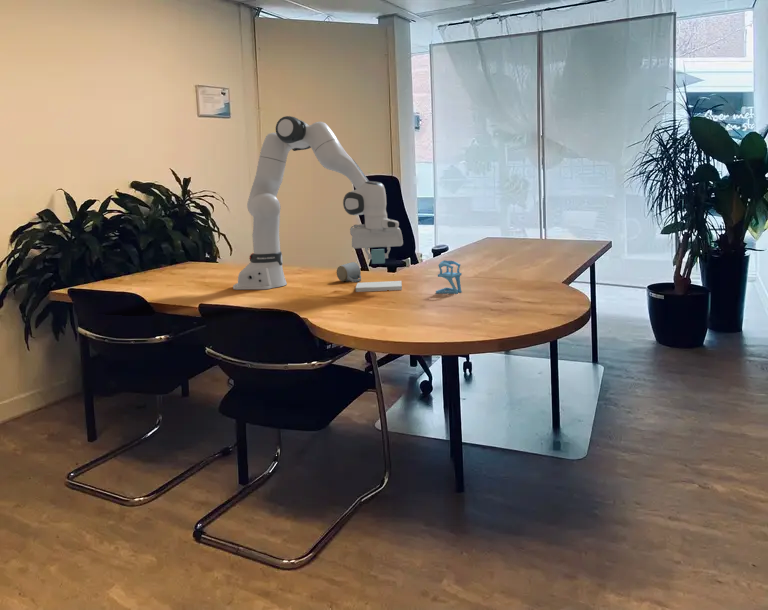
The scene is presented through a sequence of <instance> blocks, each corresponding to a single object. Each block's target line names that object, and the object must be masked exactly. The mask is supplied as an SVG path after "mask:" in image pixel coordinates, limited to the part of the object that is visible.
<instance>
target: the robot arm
mask: <svg viewBox="0 0 768 610" xmlns="http://www.w3.org/2000/svg"><path fill="white" fill-rule="evenodd" d="M261 145H262V146H261V149H260V152H259V153H260V154H259V158H258V162H257V166H256V167H257V168H256V172H255V175H254V179H253V182H252V186H251V189H250V192H249V197H248V200H247V205H246V208H247V210H248V213H249V214H250V215H251V216H252V217H253V218H252V219H253V223H252V224H253V226H252V227H253V229H252V235H251V236H252V243H253V252H252V253H250V255H249V261H250V263H248V264H247V265H246V266H245V267H244V268H243V269H242V270H240V271H239V273H238V276H237V283H234V284H233V286H232V288H233V290H269V289H273V288H275V289H276V288H279V287H280V288H281V287H283V286H286V285H287V284H288V283H287V280H286V277H285V273H284V269H283V268H284V267H283V263H284V262H283V254H282V253H283V252H282V251H281V243H280V242H281V241H280V240H281V239H280V222H281V221H280V220H281V210H282V209H281V202H280V201H279V199H278V198H277V196H278V193H279V190H280V187H281V185H282V183H283V180H284V175H285V169H286V165H287V159H288V154H289V153H290V151H293V152H296V151H303V150H304V151H305V150H308V149H311V150H312V152H313V153H314V156H315V158H316V159H317V161H318V162H319V164H320V165H321V166H322V167H324V169H326V170H329V171H332V172H336V173H339V174H340V175H341V174H342V175H343V176H344V177H346V178H348V179H349V181H350V183H351V184H352V186H353V187H354V188H355V189H354V190H351V191H349V192H347V193H346V194H345V195H344V197H343V200H342V206H343V209H344V211H345V212H346V213H347V214H348V215H349V216H362V215H364V223H363V224H362V223H361V224H353V225H351V226H350V229H349V233H350V235H351V247H352V249H364V252H365V253H366V255H367V259H368V260H372V255H371V253H370V252H369V248H370V249H373V248H386V250H387V252H386V253H385V252H384V256H385V259H389V254H390V251H391V247H402V246H403V245H404V240H403V239H404V238H403V234H402V230H401V228H400V227H399V226H400V222H399V221H398V220H395V219H392V218H388V212H387V204H388V203H387V194H386V193H387V192H386V188H385V185H384V184H383V183H382V182H380V181H376V180H375V181H374V180H369V179H368V178H367V176H366V174H364V172H363V170H362V169H361V168H360V167H359V165H358V163H356V161H355V160H354V159H353V158H352V157H351V156H350V155H349V154H348V152H347V151H346V150H345V148H344V147H343V145H342V144H341V142H340V140H339V139H338V138H337V135H336V134H335V132H334V131H333V130H332V129H331V127H330V126H329V125H328V124H327V123H326V122H324V121H316V122H313V123H312V124H308V123H307V122H305V121H303V120H302V119H299V118H297V117H295V116H290V115H289V116H288V115H285V116H283V117H281V118H280V119H279V120H278V121H277V122H276V125H275V132H270V133H267V135H266V136H265V138H264V141H263V143H262V144H261Z"/></svg>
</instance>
